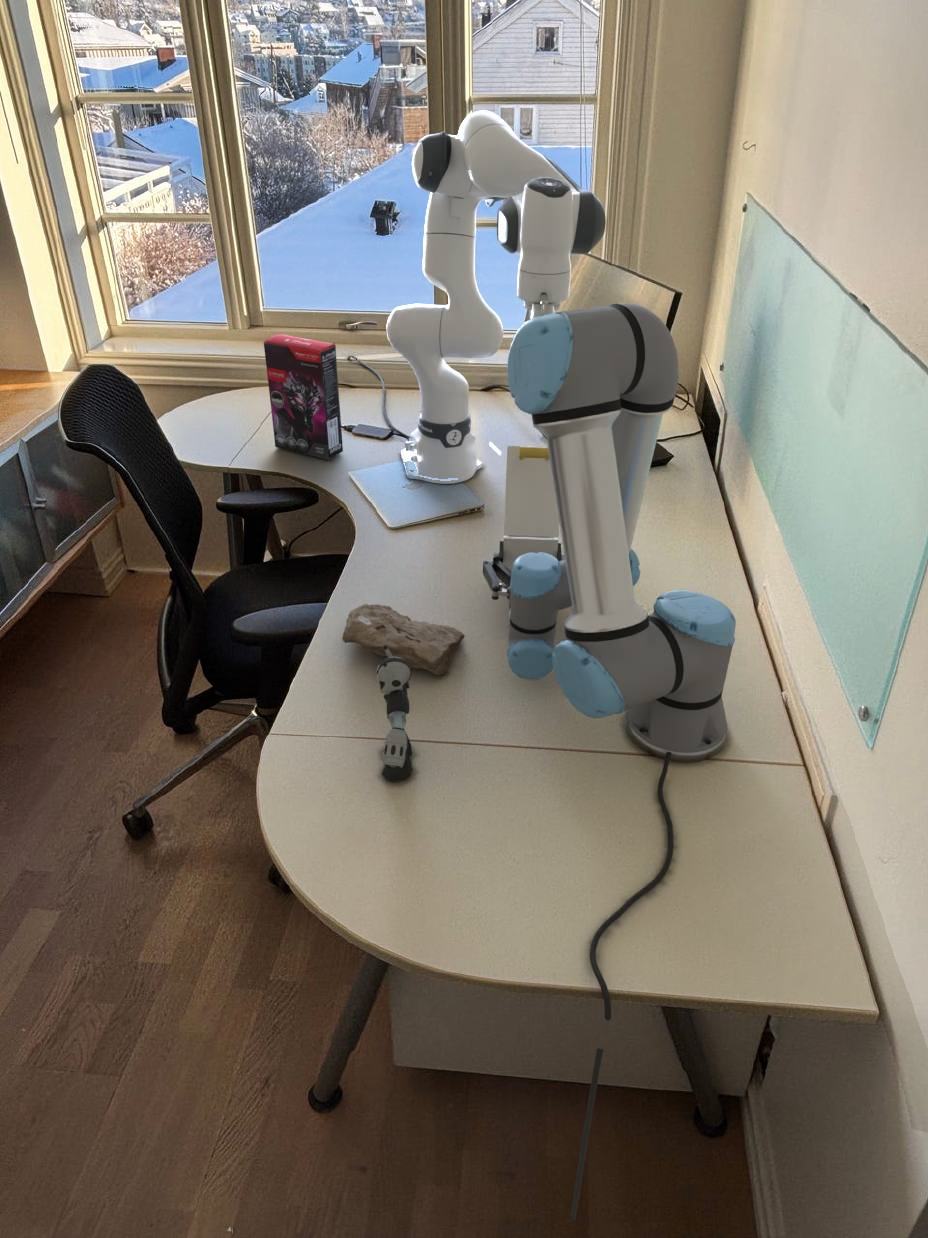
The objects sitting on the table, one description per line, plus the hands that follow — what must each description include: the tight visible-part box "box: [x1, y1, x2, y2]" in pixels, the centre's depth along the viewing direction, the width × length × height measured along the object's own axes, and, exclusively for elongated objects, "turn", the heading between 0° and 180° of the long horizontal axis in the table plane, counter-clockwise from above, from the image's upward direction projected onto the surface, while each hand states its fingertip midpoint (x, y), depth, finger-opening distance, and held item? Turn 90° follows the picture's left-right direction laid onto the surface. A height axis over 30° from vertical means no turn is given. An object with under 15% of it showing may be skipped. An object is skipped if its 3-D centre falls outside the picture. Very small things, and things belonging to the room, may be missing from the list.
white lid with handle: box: [503, 445, 560, 538], centre depth 168 cm, size 16×10×8 cm
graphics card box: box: [263, 333, 344, 460], centre depth 223 cm, size 17×7×27 cm, turn 62°
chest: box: [501, 534, 559, 587], centre depth 181 cm, size 16×10×10 cm, turn 177°
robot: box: [375, 645, 413, 783], centre depth 131 cm, size 20×5×20 cm, turn 3°
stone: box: [341, 603, 465, 677], centre depth 158 cm, size 21×15×6 cm
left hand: (539, 367), depth 162 cm, fingers open, 6 cm apart
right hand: (530, 548), depth 177 cm, fingers closed on chest, 10 cm apart
